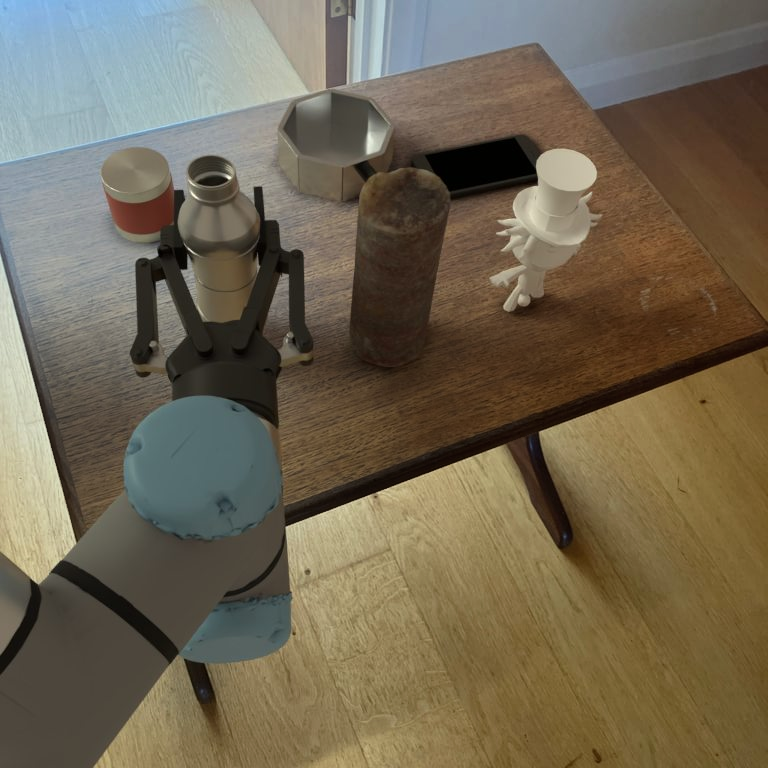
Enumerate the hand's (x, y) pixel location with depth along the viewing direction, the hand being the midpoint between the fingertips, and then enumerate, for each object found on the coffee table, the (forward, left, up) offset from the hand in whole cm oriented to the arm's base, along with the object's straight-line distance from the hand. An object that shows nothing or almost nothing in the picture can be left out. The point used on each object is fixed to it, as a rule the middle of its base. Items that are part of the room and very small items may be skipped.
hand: (220, 200), depth 70 cm
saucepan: (+6, +20, -13) cm, 25 cm away
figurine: (+28, +8, -14) cm, 32 cm away
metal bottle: (+2, -5, -12) cm, 13 cm away
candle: (+16, -1, -14) cm, 21 cm away
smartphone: (+20, +26, -13) cm, 36 cm away
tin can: (-12, +7, -13) cm, 20 cm away
